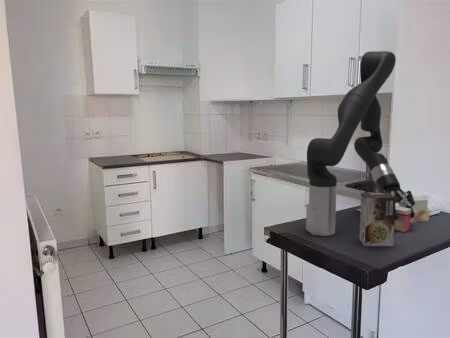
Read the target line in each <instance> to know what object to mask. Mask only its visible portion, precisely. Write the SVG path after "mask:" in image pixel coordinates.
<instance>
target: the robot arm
mask: <svg viewBox="0 0 450 338" xmlns="http://www.w3.org/2000/svg"><path fill="white" fill-rule="evenodd" d="M396 60H397V59H396V55H395V54H394V53H393V52H392V51H388V50H387V51H385V50H382V51H381V50H380V51H379V50H378V51H375V50H373V51H367V52H366V51H365V52H364V54H363V55H362V56H361V60H360V66H359V73H360V77H359V78H360V83H359V84H357V85H356V86H354V87H353V88H351V89H349V90H348V92H347V93H346V94H345V95H344V97H343V99H342V100H341V102H340V103H339V105H338V108H337V121H338V127H337V129H336V132H335V133H334V134H333V136H331V138H325V137H323V138H322V137H316V138H315V137H314V138H313V139H311V140H310V141H309V143H308V146H307V149H306V172H307V179H308V181H309V183H308V184H309V185H308V187H309V188H308V204H306V207H305V208H306V210H305V212H306V218H305V219H306V221H305V230H306V231H307V232H308V233H310V235H312V236H320V237H328V236H333V235H335V233H336V213H337V189H338V188H337V183H338V179H337V177H336V175H334V174H332V173H331V172H330V171H329V169H328V168H327V167H335V166H338V164H339V163H340V162H341V161H342V159H343V157H344V155H345V154H346V151H347V149H348V146H349V144H350V143H351V140H352V137H353V135H354V133H355V131H356V130H357V128H358V126H359V125H360V129H361V130H362V131H364V132H369V133H370V136H361V137H357V138H356V139H355V141H354V143H353V148H354V150H355V152H356V154H357V156H359V158H360V159H361V160H363V161H364V163H365V164H366V165H367V167H368V169H369V171H370V173H371V177H372V179H373V181H374V183H375V186H376V187H377V189H378V193H390V194H392V195H393V196H394V197H396V204H398V206H399V205H402V206H403V207H405V208H409V209H411V219H412V218H413V217H415V213H414V211H413V209H412V206H413V205H415V201H414V199H413V194H412V191H411V190H407V191H404V190H403V189H401V184H400V182H399V179H398V178H397V175H396V174H395V172H394V169H393V168H392V167H391V166H390V164H389V162H388V160H387V159H386V156H385V155H384V154H382V153H379V152H381V150H382V148H383V138H382V133H381V126H380V125H381V117H382V109H381V104H380V102H379V100H378V97H377V94H378V93H379V91H380V89H381V88H382V86H383V85H384V84H385V83H386V82H387V80H388V79H389V77H390V76H391V74H392V73H393V71H394V68H395V66H396ZM402 199H403V201H402V202H401V200H402ZM405 203H406V204H407V205H406V204H405ZM398 218H399V216H398V214H397V212H396V210H395V220H397V219H398Z"/></svg>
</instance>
